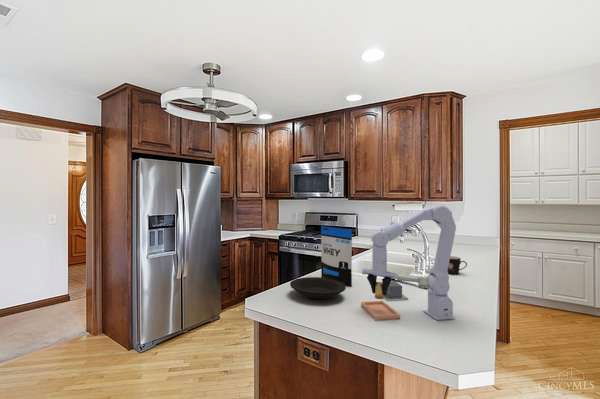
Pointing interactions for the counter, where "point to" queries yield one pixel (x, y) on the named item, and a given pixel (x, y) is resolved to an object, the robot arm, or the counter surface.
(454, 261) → the coffee mug
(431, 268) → the showerhead
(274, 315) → the counter surface
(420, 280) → the pale grey long piece
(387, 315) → the terracotta tray
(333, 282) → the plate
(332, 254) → the protein powder
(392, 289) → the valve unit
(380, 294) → the cylinder
